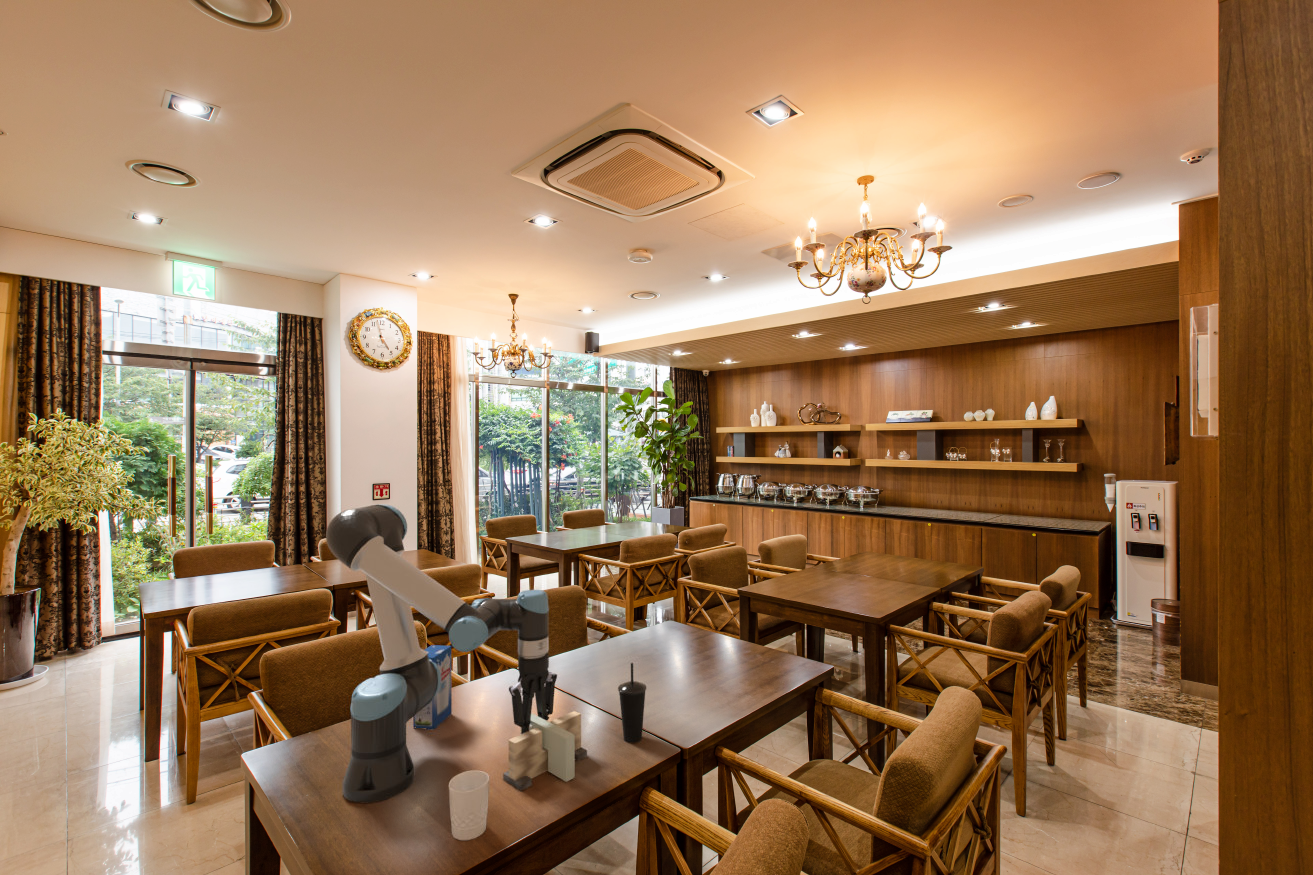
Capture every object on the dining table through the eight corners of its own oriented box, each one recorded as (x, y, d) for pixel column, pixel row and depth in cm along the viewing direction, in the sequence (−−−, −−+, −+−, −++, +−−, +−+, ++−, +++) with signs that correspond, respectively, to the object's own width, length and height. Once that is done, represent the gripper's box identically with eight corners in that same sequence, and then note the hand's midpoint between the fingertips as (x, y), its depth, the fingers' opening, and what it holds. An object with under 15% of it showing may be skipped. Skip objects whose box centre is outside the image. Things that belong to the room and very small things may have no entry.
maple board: (520, 790, 133) (520, 746, 134) (503, 779, 138) (502, 736, 138) (587, 755, 148) (586, 716, 148) (569, 746, 153) (568, 708, 153)
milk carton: (433, 729, 163) (433, 657, 164) (413, 728, 164) (412, 656, 165) (451, 713, 173) (451, 645, 173) (432, 712, 174) (432, 644, 174)
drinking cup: (621, 747, 152) (621, 669, 153) (615, 733, 160) (615, 659, 160) (650, 743, 154) (649, 666, 155) (643, 729, 162) (642, 656, 162)
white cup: (475, 812, 125) (474, 765, 126) (497, 827, 120) (496, 778, 120) (441, 831, 119) (441, 782, 119) (463, 848, 114) (462, 796, 114)
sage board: (520, 754, 148) (520, 714, 148) (528, 750, 150) (528, 711, 150) (566, 781, 136) (566, 738, 136) (574, 777, 138) (574, 734, 138)
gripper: (515, 666, 139) (516, 766, 138) (567, 648, 150) (568, 741, 150) (497, 658, 144) (498, 755, 143) (549, 642, 155) (550, 731, 155)
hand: (534, 748), depth 146 cm, fingers open, 3 cm apart
